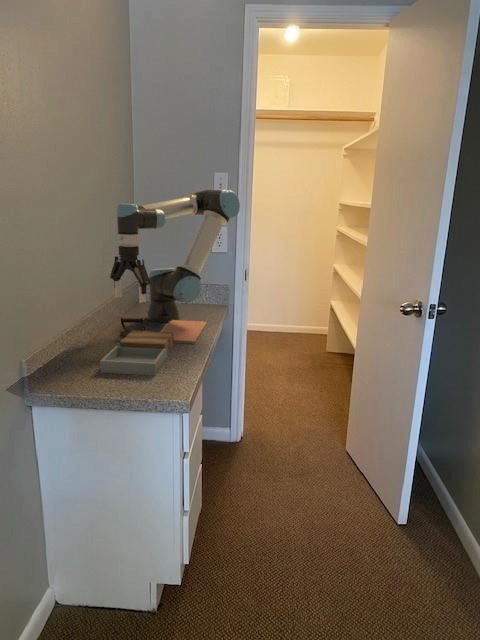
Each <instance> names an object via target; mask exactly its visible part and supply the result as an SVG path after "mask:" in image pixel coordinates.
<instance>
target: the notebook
mask: <svg viewBox="0 0 480 640" xmlns="http://www.w3.org/2000/svg"><path fill="white" fill-rule="evenodd" d="M207 323H208V322H207V321H201V320H200V321H197V320H180V319H178V320H172V321H169V322H166V324H165V325H164V326H163V328H162V329H161V330H160V331H159V332H173V338H174V344H186V345H187V344H188V345H195V344H196V342H197V340H199V337H200V335H201V334H202V332H203V331H204V329H205V328H206V327H207Z"/></svg>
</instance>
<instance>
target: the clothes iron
mask: <svg viewBox="0 0 480 640" xmlns="http://www.w3.org/2000/svg"><path fill="white" fill-rule="evenodd" d="M143 319H144V318H143V317H140V318H138V317H137V318H134V317H129V318H128V317H127V318H126V317H125V318H124V317H121V318H120V324H121V326H122V329H123V330H121V331H120V333H119V336H120V337H123V336H124V337H123V338H125V337H126V336H127V335H128V334H129V333H130V332H131V331H132V330H133V329H130V328H127V327H126V324H125V323H128V324H129V323H131V324H132V323H133V324H135V323H136V324H137V323H138V324H140V325H141V327H142V329H141V330H138V329H137V330H134V331H146V326H145V323H144V320H143Z"/></svg>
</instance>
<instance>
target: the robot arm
mask: <svg viewBox="0 0 480 640" xmlns="http://www.w3.org/2000/svg"><path fill="white" fill-rule="evenodd" d="M240 204H241V203H240V199H239V197H238V195H237V193H235V191H233V190H228V189H204V190H200V191H197V192H193V193H187V194H185V195H184V197H179V198H174V199H170V200H169V199H168V200H164V201H158V202H153V203H149V204H143V205H142V204H141V205H139V206H138V205H137V204H136V203H118V204H117V207H116V222H117V238H118V239H117V240H118V241H117V243H118V245H119V246H118V247H117V249H118V255H117V256H116V255H115V256H114V262H113V267H112V268H111V272H110V274H109V275H110V276H109V277H110V278H109V279H112V280H113V283H114V284H113V285H114V290H115V291H114V292H115V293H114V294H115V298H122V297H123V291H122V290H123V289H122V288H123V287H122V286H123V285H122V284H123V283H122V277H123V275H124V273H125V272H126V271H127V270H128V271H130V272H132V273H133V275H134V276H135V278H136V280H137V282H138V283H139V285H138V298H139V301H138V302H139V303H140V304H142V303H146V301H147V298H146V297H147V286H149V301H150V302H149V304H148V309H147V311H146V320H148V321H150V322H155V323H168V322H169V321H170V322H171V321H172V320H180V319H181V312H180V310H179V308H178V307H179V306H178V304H177V302H178V303H179V302H180V303H185V304H186V303H193V302H194V301H195V300H197V299H198V297H199V296H200V294H201V292H202V283H201V280H202V276H201V272H202V270H203V267H204V266H205V264H206V261H207V259H208V257H209V255H210V253H211V250H212V248H213V247H214V245H215V243H216V240H217V238H218V236H219V234H220V232H221V229H222V228H223V227H224V226H227V225H228V224H229V221H230V219H232V218H235V217H237V215H238V214H239V212H240V208H241V205H240ZM186 215H189V216H190V217H191V216H204V218H203V221H202V223H201V225H200V227H199V229H198V231H197V233H196V236H195V238H194V239H193V241H192V243H191V245H190V247H189V250H188V252H186V253H187V254H186V256H185V258H184V260H183V261H182V263H181V264H179V265H177V266H176V267H162V268H161V267H160V268H154V269H151V270H149V274H148V272H147V269H146V266H145V260H144V259H138V256H139V253H140V251H139V250H140V248H139V230H148V229H154V230H157V229H162V228H163V227H164V226H165V224H166V220H168V219H172V218H176V217H178V218H179V217H181V216H186Z"/></svg>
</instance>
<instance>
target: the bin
mask: <svg viewBox="0 0 480 640" xmlns="http://www.w3.org/2000/svg"><path fill="white" fill-rule="evenodd" d="M167 360H168V354H167V349H165V348H163V349H153V348H133V347H120V345H115V346H114V347H113V348H112V349H111V350H110V351H109V352H107V354H106V355H104V356H103V357H102V358H101V359H100V361H99V367H100V373H102V374H103V373H104V374H105V373H106V374H118V375H119V374H120V375H121V374H122V375H139V376H141V375H142V376H157V374H158V373H159V371H160V369H161V368H162V367H163V365H164V364H165V363H166V361H167Z"/></svg>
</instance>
